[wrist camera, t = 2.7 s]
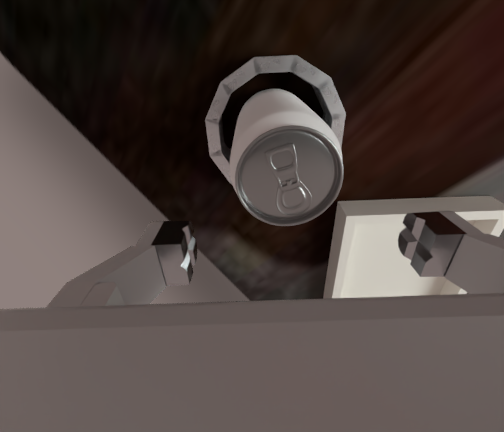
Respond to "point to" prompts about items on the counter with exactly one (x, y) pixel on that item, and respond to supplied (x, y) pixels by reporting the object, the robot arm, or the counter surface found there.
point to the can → (284, 159)
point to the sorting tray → (394, 245)
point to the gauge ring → (270, 64)
